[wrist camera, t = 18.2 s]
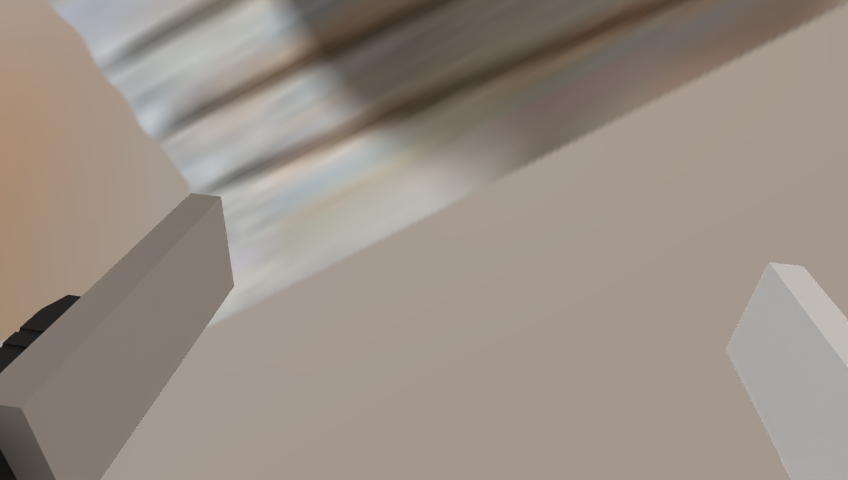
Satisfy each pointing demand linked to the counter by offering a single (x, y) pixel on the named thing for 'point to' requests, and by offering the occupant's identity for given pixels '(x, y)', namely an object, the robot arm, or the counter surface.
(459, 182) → the counter surface
